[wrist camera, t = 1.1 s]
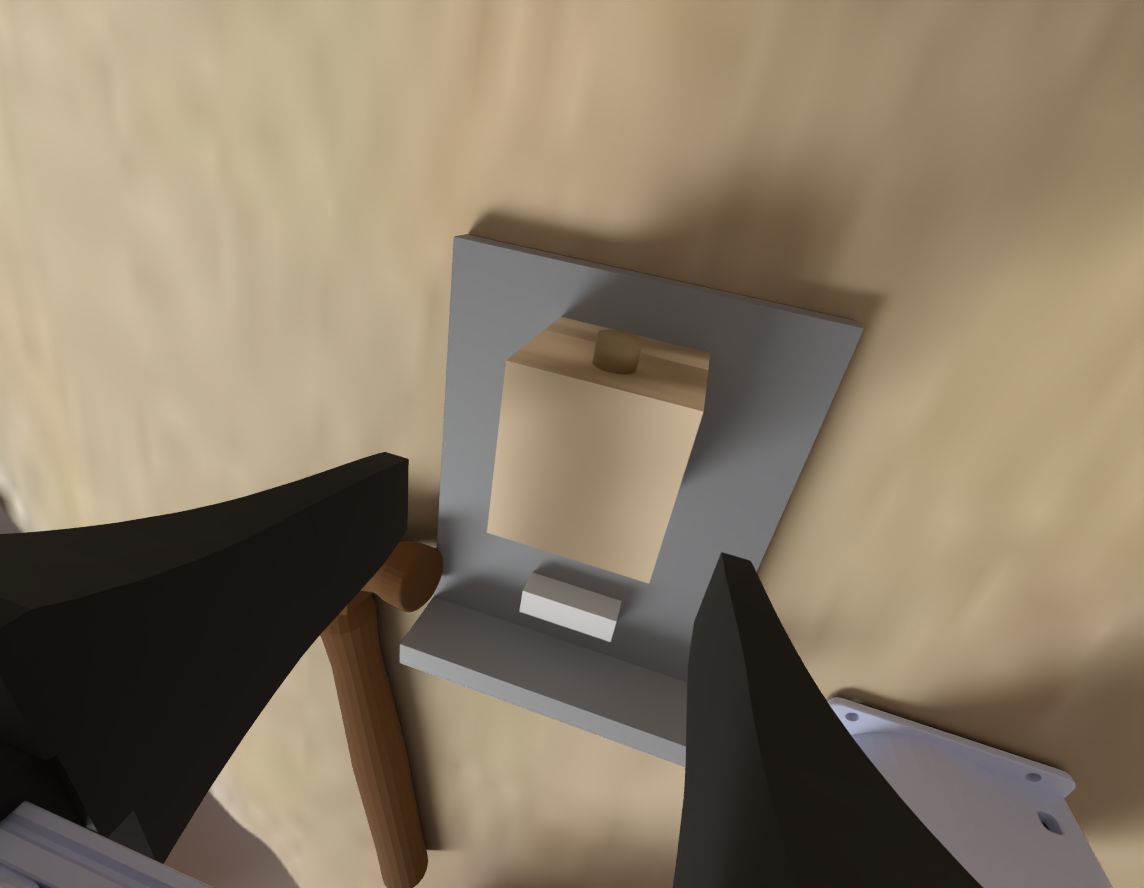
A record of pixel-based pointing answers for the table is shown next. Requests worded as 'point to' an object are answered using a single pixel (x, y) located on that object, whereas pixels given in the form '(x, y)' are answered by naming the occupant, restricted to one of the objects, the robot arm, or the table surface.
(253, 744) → the table surface
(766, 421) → the wall board
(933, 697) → the table surface
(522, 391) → the cabinet block
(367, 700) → the hammer
